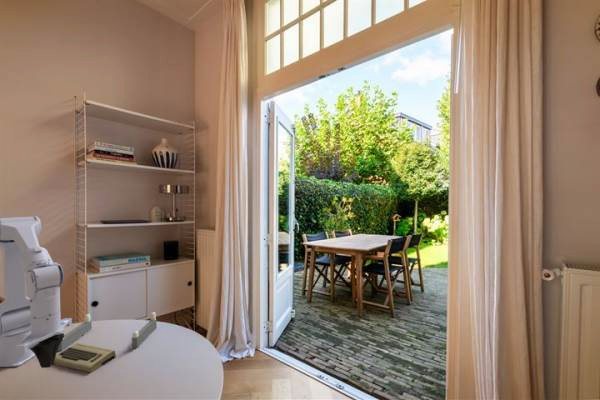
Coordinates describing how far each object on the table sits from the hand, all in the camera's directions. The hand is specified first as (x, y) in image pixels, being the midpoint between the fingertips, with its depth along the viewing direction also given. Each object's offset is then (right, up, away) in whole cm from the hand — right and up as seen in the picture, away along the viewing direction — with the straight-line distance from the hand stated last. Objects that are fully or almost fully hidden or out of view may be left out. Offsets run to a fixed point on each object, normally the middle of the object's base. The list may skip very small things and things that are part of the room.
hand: (47, 366), depth 72 cm
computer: (-1, -7, +13) cm, 15 cm away
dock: (-1, -6, +26) cm, 27 cm away
